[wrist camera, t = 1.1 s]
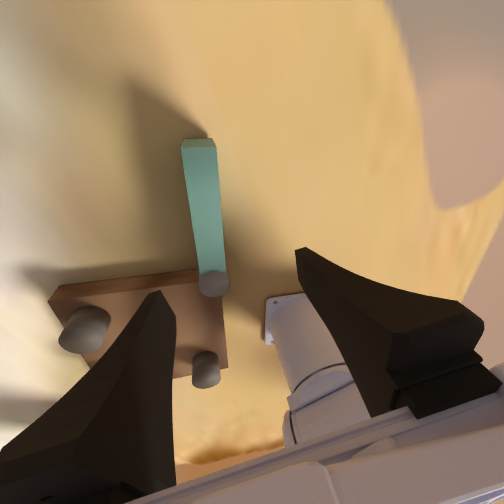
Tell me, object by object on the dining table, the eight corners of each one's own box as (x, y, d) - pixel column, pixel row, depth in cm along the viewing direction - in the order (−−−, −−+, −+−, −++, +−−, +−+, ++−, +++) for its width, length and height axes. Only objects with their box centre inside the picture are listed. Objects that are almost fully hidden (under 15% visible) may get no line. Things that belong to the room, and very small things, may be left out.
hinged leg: (224, 264, 23) (230, 294, 19) (199, 267, 23) (200, 299, 19) (214, 138, 17) (220, 147, 13) (180, 139, 17) (176, 149, 13)
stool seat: (217, 266, 23) (222, 298, 19) (226, 353, 31) (230, 388, 27) (59, 285, 21) (29, 325, 17) (110, 374, 28) (97, 416, 25)
